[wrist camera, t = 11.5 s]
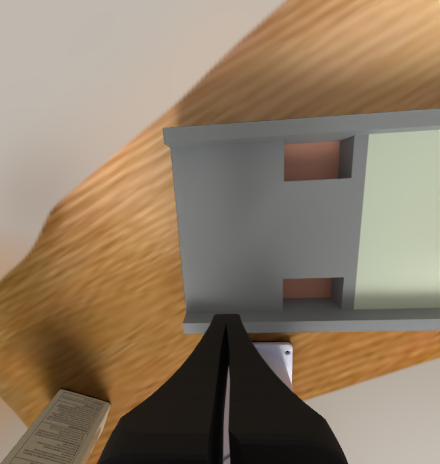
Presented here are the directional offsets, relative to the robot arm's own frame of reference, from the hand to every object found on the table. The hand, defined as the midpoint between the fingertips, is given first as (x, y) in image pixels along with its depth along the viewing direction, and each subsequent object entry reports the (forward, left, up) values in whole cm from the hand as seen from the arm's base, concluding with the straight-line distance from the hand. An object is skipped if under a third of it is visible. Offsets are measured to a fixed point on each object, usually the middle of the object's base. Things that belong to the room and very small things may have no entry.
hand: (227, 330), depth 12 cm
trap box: (+4, -10, -9) cm, 14 cm away
